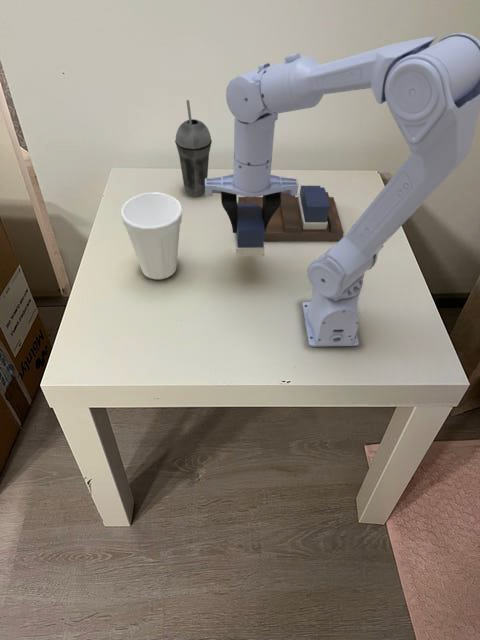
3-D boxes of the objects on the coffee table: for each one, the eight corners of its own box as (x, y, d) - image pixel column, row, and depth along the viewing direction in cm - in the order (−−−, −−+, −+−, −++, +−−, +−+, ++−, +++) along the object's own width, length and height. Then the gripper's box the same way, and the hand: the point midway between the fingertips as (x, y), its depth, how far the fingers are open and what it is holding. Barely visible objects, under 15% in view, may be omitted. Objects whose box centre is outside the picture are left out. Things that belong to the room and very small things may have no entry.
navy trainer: (263, 255, 80) (266, 231, 77) (236, 256, 80) (236, 231, 76) (259, 218, 87) (261, 194, 83) (233, 219, 87) (234, 194, 83)
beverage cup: (219, 188, 106) (218, 96, 91) (199, 204, 102) (196, 110, 87) (191, 178, 108) (187, 86, 94) (172, 193, 104) (163, 100, 89)
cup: (154, 244, 93) (146, 185, 83) (197, 263, 90) (194, 203, 80) (119, 274, 87) (107, 214, 77) (164, 296, 84) (157, 236, 74)
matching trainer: (326, 229, 94) (331, 207, 90) (303, 229, 94) (306, 207, 90) (319, 199, 101) (322, 178, 97) (297, 199, 101) (300, 177, 97)
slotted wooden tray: (341, 241, 95) (345, 227, 93) (240, 241, 94) (240, 227, 92) (331, 204, 103) (334, 192, 101) (238, 204, 102) (238, 191, 100)
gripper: (297, 142, 75) (288, 214, 85) (204, 142, 75) (206, 215, 85) (303, 167, 71) (293, 240, 81) (204, 166, 70) (206, 240, 80)
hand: (248, 229), depth 82 cm, fingers closed on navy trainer, 4 cm apart
